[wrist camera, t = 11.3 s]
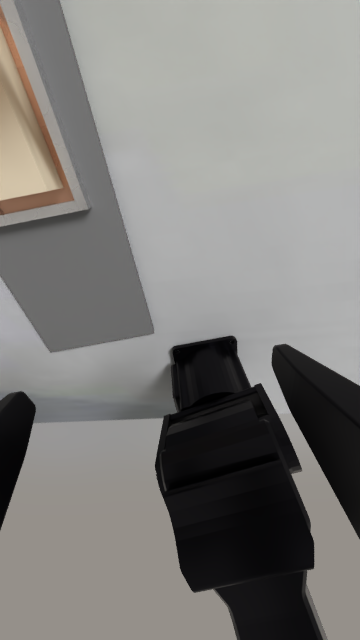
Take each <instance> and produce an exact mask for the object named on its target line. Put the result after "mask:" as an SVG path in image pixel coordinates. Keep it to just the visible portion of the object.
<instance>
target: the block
mask: <svg viewBox="0 0 360 640" xmlns="http://www.w3.org/2000/svg"><path fill="white" fill-rule="evenodd" d="M60 188H64V187H63V184H62V182H61V179H60V177H59V174H58V172H57V169H56V167H55V164H54V162H53V159H52V156H51V154H50V151H49V149H48V146H47V144H46V141H45V139H44V136H43V133H42V131H41V128H40V126H39V123H38V121H37V118H36V116H35V113H34V111H33V108H32V105H31V103H30V100H29V98H28V95H27V93H26V90H25V88H24V85H23V82H22V80H21V77H20V75H19V72H18V70H17V67H16V65H15V62H14V60H13V57H12V54H11V52H10V49H9V47H8V44H7V42H6V39H5V37H4V34H3V32H2V29H1V26H0V201H1V200H6V199H11V198H16V197H21V196H26V195H31V194H36V193H41V192H46V191H51V190H56V189H60Z"/></svg>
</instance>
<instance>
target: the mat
mask: <svg viewBox="0 0 360 640" xmlns="http://www.w3.org/2000/svg"><path fill="white" fill-rule="evenodd" d="M20 2H21V5H22V7H23V10H24V13H25V16H26V19H27V22H28V25H29V28H30V30H31V33H32V36H33V39H34V42H35V45H36V48H37V51H38V53H39V56H40V59H41V62H42V65H43V68H44V71H45V74H46V76H47V79H48V82H49V85H50V88H51V91H52V94H53V97H54V99H55V102H56V105H57V108H58V111H59V114H60V117H61V120H62V123H63V125H64V128H65V131H66V134H67V137H68V140H69V143H70V146H71V148H72V151H73V154H74V157H75V160H76V163H77V166H78V169H79V171H80V174H81V177H82V180H83V183H84V186H85V189H86V192H87V194H88V197H89V200H90V203H91V206H92V207H91V208H89V209H87V210H82V211H77V212H72V213H67V214H62V215H57V216H52V217H47V218H41V219H36V220H31V221H26V222H21V223H16V224H11V225H6V226H1V227H0V276H1V277H2V279H3V280H4V282H5V283H6V285H7V286H8V288H9V289H10V291H11V293H12V294H13V296H14V297H15V299H16V300H17V302H18V303H19V305H20V306H21V308H22V309H23V311H24V312H25V314H26V315H27V317H28V319H29V320H30V322H31V323H32V325H33V326H34V328H35V329H36V331H37V332H38V334H39V335H40V337H41V338H42V340H43V342H44V343H45V345H46V346H47V348H48V349H49V351H50V352H55V351H61V350H66V349H72V348H77V347H82V346H88V345H93V344H99V343H104V342H110V341H115V340H120V339H126V338H131V337H137V336H142V335H148V334H153V333H154V328H153V324H152V321H151V317H150V314H149V310H148V307H147V303H146V300H145V297H144V293H143V290H142V286H141V283H140V279H139V276H138V272H137V269H136V265H135V262H134V258H133V255H132V251H131V248H130V244H129V241H128V237H127V234H126V230H125V227H124V223H123V220H122V216H121V213H120V209H119V206H118V202H117V199H116V196H115V192H114V189H113V185H112V182H111V178H110V175H109V171H108V168H107V164H106V161H105V157H104V154H103V150H102V147H101V143H100V140H99V136H98V133H97V129H96V126H95V122H94V119H93V115H92V112H91V108H90V105H89V101H88V98H87V95H86V91H85V88H84V84H83V81H82V77H81V74H80V70H79V67H78V63H77V60H76V56H75V53H74V49H73V46H72V42H71V39H70V35H69V32H68V28H67V25H66V21H65V18H64V14H63V11H62V7H61V4H60V0H20Z"/></svg>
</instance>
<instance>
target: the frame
mask: <svg viewBox="0 0 360 640" xmlns="http://www.w3.org/2000/svg"><path fill="white" fill-rule="evenodd" d="M0 26H1V29H2V32H3V34H4V37H5V39H6V42H7V44H8V47H9V49H10V52H11V54H12V57H13V60H14V62H15V65H16V67H17V70H18V72H19V75H20V77H21V80H22V82H23V85H24V88H25V90H26V93H27V95H28V98H29V100H30V103H31V105H32V108H33V111H34V113H35V116H36V118H37V121H38V123H39V126H40V128H41V131H42V133H43V136H44V139H45V141H46V144H47V146H48V149H49V151H50V154H51V156H52V159H53V162H54V164H55V167H56V169H57V172H58V174H59V177H60V179H61V182H62V184H63V187H64V188H60V189H56V190H51V191H46V192H41V193H36V194H31V195H26V196H21V197H16V198H11V199H6V200H1V201H0V227H1V226H6V225H11V224H16V223H21V222H26V221H31V220H36V219H41V218H47V217H52V216H57V215H62V214H67V213H72V212H77V211H82V210H87V209H89V208H91V207H92V206H91V203H90V200H89V197H88V194H87V192H86V189H85V186H84V183H83V180H82V177H81V174H80V171H79V169H78V166H77V163H76V160H75V157H74V154H73V151H72V148H71V146H70V143H69V140H68V137H67V134H66V131H65V128H64V125H63V123H62V120H61V117H60V114H59V111H58V108H57V105H56V102H55V99H54V97H53V94H52V91H51V88H50V85H49V82H48V79H47V76H46V74H45V71H44V68H43V65H42V62H41V59H40V56H39V53H38V51H37V48H36V45H35V42H34V39H33V36H32V33H31V30H30V28H29V25H28V22H27V19H26V16H25V13H24V10H23V7H22V5H21V2H20V0H0Z"/></svg>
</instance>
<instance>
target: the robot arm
mask: <svg viewBox="0 0 360 640" xmlns="http://www.w3.org/2000/svg"><path fill="white" fill-rule="evenodd" d="M232 340H233V341H232ZM230 341H232V342H230ZM177 350H179V351H178V352H176V351H177ZM172 352H173V357H174V361H175V364H173V365H172V366H171V375H172V389H173V399H174V402H175V406H176V409H177V412H178V413H175V414H172V415H171V414H168V415H165V416H164V420H163V425H162V430H161V435H160V440H159V445H158V451H157V457H156V462H155V470H156V473H157V474H156V476H157V480H158V484H159V488H160V491H161V493H162V496H163V498H164V501H165V504H166V506H167V509H168V511H169V515H170V518H171V522H172V526H173V530H174V535H175V540H176V546H177V552H178V558H179V564H180V569H181V572H182V574H183V576H184V577H185V579H186V581H187V583H188V585H189V586H190V588H191V590H192V591H193V592H194V593H196V592H201V591H206V590H211V589H213V590H214V591H215V592H216V593H217V595H218V596H219V597H220V598H221V599H222V601H223V602H224V603H225V604H226V605H227V607H228V609H229V612H230V616H231V619H232V622H233V626H234V629H235V633H236V636H237V640H327V637H326V634H325V632H324V629H323V626H322V624H321V621H320V618H319V616H318V613H317V611H316V608H315V605H314V603H313V600H312V598H311V595H310V592H309V590H308V587H307V585H306V577H307V570H311V569H314V541H313V538H312V535H311V533H310V528H311V524H310V519H309V516H308V514H307V511H306V510H305V507H304V504H303V502H302V499H301V497H300V495H299V492H298V490H297V487H296V485H295V483H294V480H293V478H292V475H291V474H292V473H297V472H301V471H302V468H301V465H300V463H299V460H298V458H297V455H296V453H295V451H294V448H293V446H292V443H291V441H290V439H289V437H288V435H287V432H286V430H285V428H284V426H283V424H282V422H281V420H280V418H279V416H278V414H277V412H276V411H275V409H274V407H273V405H272V403H271V401H270V399H269V397H268V396H267V394H266V392H265V390H264V388H263V386H262V384H261V383H259V384H256V385H255V386H254V387H251V386H250V383H249V381H248V379H247V376H246V374H245V372H244V369H243V367H242V365H241V362H240V360H239V358H238V355H237V340H236V338H235V337H234V336H228V337H223V338H217V339H212V340H206V341H201V342H195V343H190V344H184V345H179V346H175V347H173V349H172ZM272 368H273V370H274V373H275V375H276V378H277V380H278V383H279V385H280V388H281V390H282V393H283V395H284V397H285V400H286V402H287V405H288V407H289V409H290V411H291V413H292V415H293V417H294V419H295V421H296V422H297V424H298V426H299V428H300V430H301V432H302V433H303V435H304V437H305V439H306V441H307V443H308V444H309V447H310V448H311V450H312V452H313V454H314V456H315V457H316V459H317V461H318V463H319V465H320V467H321V469H322V471H323V472H324V474H325V476H326V478H327V480H328V482H329V483H330V485H331V487H332V489H333V491H334V493H335V495H336V496H337V498H338V500H339V502H340V504H341V506H342V507H343V509H344V511H345V513H346V515H347V516H348V519H349V520H350V522H351V524H352V526H353V528H354V530H355V531H356V533H357V535H358V537H359V539H360V386H359V385H357V384H356V383H354V382H352V381H350V380H349V379H347V378H345V377H343V376H342V375H340V374H338V373H336V372H335V371H333V370H331V369H329V368H328V367H326V366H324V365H322V364H321V363H319V362H317V361H315V360H314V359H312V358H310V357H308V356H307V355H305V354H303V353H301V352H300V351H298V350H296V349H294V348H293V347H291V346H289V345H287V344H281V345H275V346H274V347H273V353H272ZM35 412H36V407H35V404H34V403H33V402H32V401H31V400H30V398H29V397H28V396H27V395H26V394H25V393H24V392H21V391H20V392H14V393H10V394H8V395H7V396H6V397H4V398H3V399H2V400H1V401H0V530H1V527H2V524H3V521H4V518H5V515H6V512H7V509H8V506H9V503H10V500H11V497H12V494H13V491H14V488H15V485H16V482H17V479H18V476H19V473H20V470H21V467H22V464H23V461H24V457H25V454H26V450H27V446H28V442H29V438H30V434H31V429H32V425H33V421H34V416H35Z"/></svg>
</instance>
